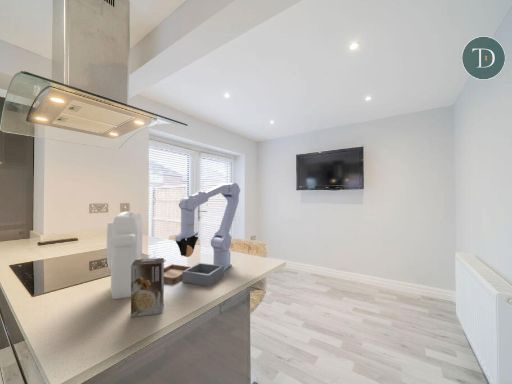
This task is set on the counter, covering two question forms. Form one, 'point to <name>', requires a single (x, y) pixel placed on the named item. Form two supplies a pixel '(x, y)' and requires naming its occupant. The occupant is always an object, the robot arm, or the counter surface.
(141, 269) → the coffee box
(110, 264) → the white tall piece
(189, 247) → the ball
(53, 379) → the counter surface
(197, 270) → the bin
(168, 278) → the tray
